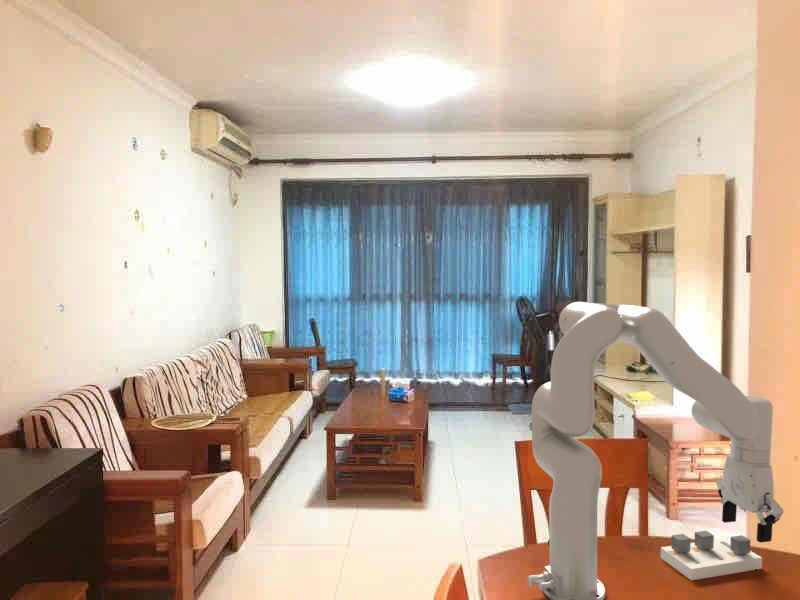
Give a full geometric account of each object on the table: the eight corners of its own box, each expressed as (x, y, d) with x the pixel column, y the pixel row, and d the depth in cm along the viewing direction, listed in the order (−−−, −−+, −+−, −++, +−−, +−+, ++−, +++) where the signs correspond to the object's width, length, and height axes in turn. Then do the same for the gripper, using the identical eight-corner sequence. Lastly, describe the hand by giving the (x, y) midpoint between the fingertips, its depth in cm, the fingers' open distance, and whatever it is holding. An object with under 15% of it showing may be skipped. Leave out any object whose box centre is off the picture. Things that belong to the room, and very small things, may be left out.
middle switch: (702, 549, 136) (702, 536, 136) (694, 544, 138) (694, 532, 138) (713, 548, 137) (713, 535, 136) (705, 543, 139) (706, 530, 139)
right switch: (738, 554, 133) (738, 541, 133) (730, 549, 136) (730, 536, 135) (750, 553, 134) (750, 540, 134) (741, 548, 136) (741, 535, 136)
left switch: (678, 553, 135) (678, 540, 134) (671, 548, 137) (671, 535, 137) (690, 551, 135) (690, 538, 135) (682, 546, 138) (683, 533, 137)
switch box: (691, 580, 129) (691, 568, 129) (660, 557, 138) (660, 546, 138) (761, 568, 133) (762, 557, 133) (727, 547, 143) (727, 536, 142)
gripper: (706, 443, 138) (702, 516, 139) (768, 469, 121) (763, 551, 123) (733, 441, 140) (730, 513, 141) (799, 466, 123) (794, 548, 124)
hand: (745, 531), depth 132 cm, fingers open, 9 cm apart
